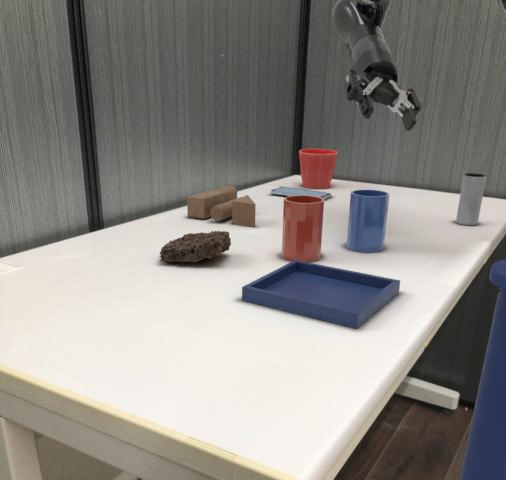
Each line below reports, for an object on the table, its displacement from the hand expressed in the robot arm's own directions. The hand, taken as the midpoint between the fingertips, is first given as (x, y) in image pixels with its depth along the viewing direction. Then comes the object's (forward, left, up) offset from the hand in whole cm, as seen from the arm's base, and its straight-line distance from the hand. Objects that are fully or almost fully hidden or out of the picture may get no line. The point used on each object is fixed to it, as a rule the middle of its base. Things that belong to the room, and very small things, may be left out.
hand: (390, 120), depth 100 cm
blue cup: (+1, +4, -22) cm, 22 cm away
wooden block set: (+35, -4, -22) cm, 42 cm away
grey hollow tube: (-10, -27, -22) cm, 37 cm away
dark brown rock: (+22, +28, -22) cm, 42 cm away
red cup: (+8, +16, -22) cm, 28 cm away
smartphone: (+34, -32, -22) cm, 52 cm away
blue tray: (-4, +32, -22) cm, 39 cm away
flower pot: (+37, -47, -22) cm, 64 cm away
